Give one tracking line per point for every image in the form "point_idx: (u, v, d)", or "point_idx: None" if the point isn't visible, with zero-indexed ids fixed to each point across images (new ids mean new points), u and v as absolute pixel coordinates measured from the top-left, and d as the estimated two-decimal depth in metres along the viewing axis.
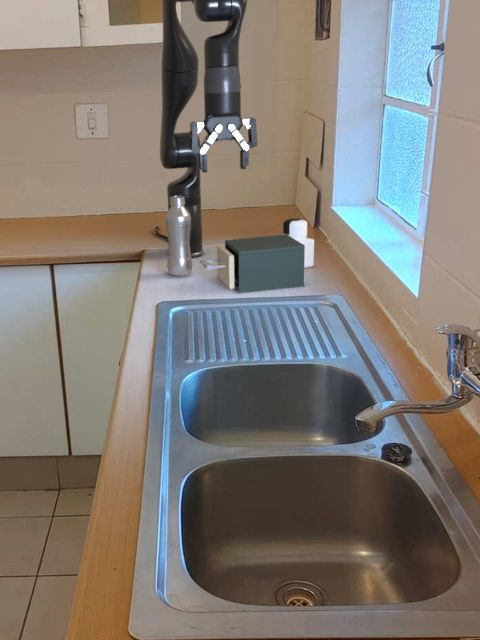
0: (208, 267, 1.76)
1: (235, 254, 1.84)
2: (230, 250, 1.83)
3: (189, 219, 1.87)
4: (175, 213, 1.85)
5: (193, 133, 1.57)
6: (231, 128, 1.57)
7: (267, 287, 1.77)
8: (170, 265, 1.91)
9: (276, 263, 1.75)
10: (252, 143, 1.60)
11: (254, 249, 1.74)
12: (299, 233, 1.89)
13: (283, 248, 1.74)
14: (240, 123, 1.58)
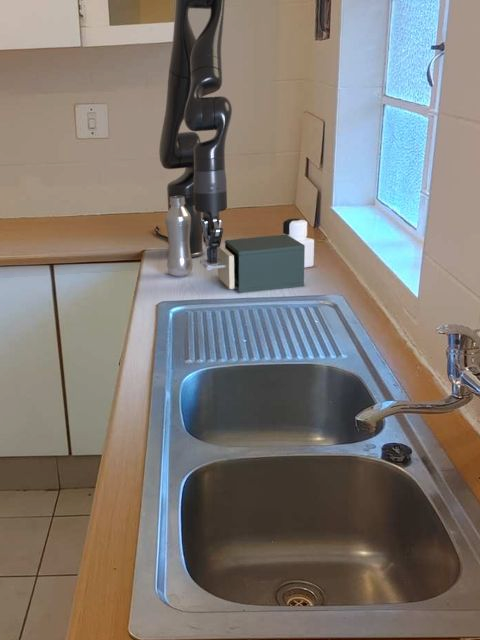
0: (208, 267, 1.76)
1: (235, 254, 1.84)
2: (230, 250, 1.83)
3: (189, 219, 1.87)
4: (175, 213, 1.85)
5: (201, 229, 1.81)
6: (204, 223, 1.74)
7: (267, 287, 1.77)
8: (170, 265, 1.91)
9: (276, 263, 1.75)
10: None
11: (254, 249, 1.74)
12: (298, 233, 1.89)
13: (283, 248, 1.74)
14: (210, 221, 1.72)
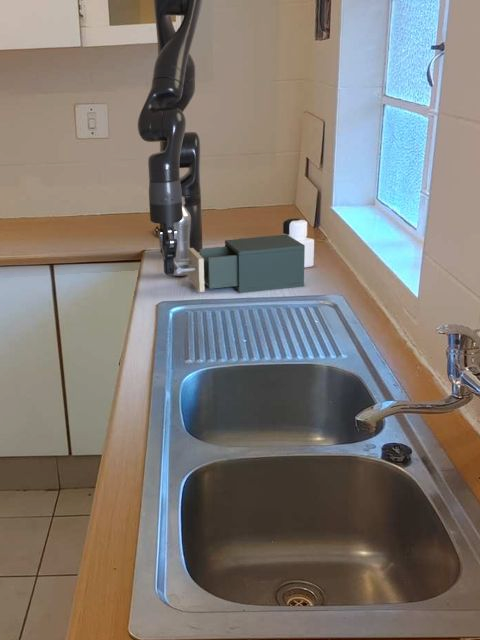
0: (178, 270, 1.75)
1: (206, 257, 1.83)
2: (201, 253, 1.82)
3: (189, 219, 1.87)
4: None
5: None
6: (159, 234, 1.74)
7: (267, 287, 1.77)
8: None
9: (276, 263, 1.75)
10: None
11: (254, 249, 1.74)
12: (298, 233, 1.89)
13: (283, 248, 1.74)
14: (164, 232, 1.71)
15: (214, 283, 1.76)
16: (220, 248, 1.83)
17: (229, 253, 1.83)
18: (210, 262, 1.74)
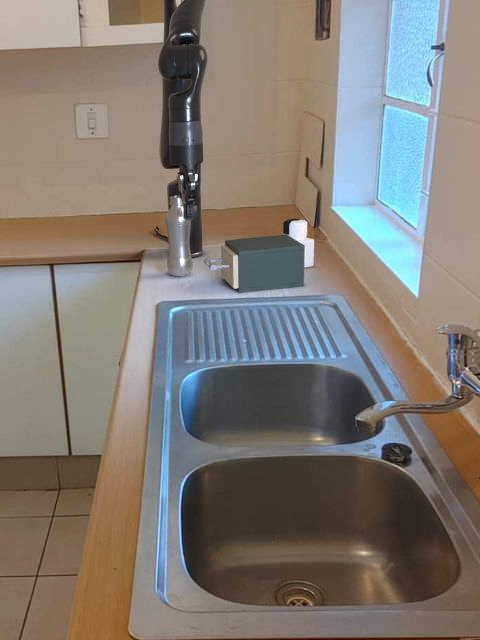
0: (212, 267, 1.76)
1: None
2: None
3: None
4: (175, 213, 1.85)
5: (178, 185, 1.76)
6: (180, 177, 1.69)
7: (267, 287, 1.77)
8: (170, 265, 1.91)
9: (276, 263, 1.75)
10: None
11: (254, 249, 1.74)
12: (298, 233, 1.89)
13: (283, 248, 1.74)
14: (185, 175, 1.67)
15: None
16: None
17: None
18: None
